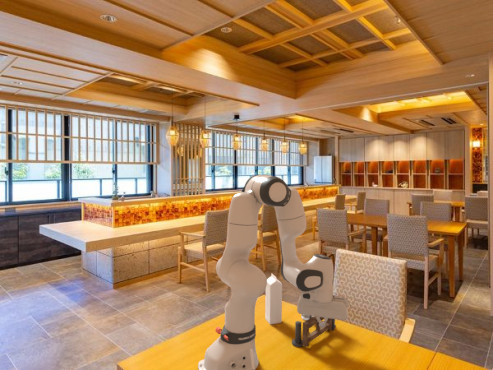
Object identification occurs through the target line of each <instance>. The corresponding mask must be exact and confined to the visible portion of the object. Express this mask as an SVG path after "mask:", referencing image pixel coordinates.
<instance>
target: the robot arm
mask: <svg viewBox="0 0 493 370" xmlns="http://www.w3.org/2000/svg"><path fill="white" fill-rule="evenodd" d="M263 206H268V207H273V209H274V211H275V217H276V222H277V227H278V237H279V246H280V252H281V253H280V254H281V265H280V275H281V277H282V279H283V280H284V281H286V282H287V283H288V284H289V283H290V284H291V285H292V286H294V287H295V288H297V289H298V290H299V291H300V294H299V297H298V298H299V299H298V301H297V305H296V306H297V308H296V311H297V313H298V314H300V315H302V314H305V315H311V316H316V319H317V321H318V323H319V327H325V323H326V322H327V320H328V318H331V319H335V320H338V321H343V322H344V321H347V320H348V317H349V311H348V308H349V305H350V304H349V303H350V302H349V301H350V300H349V299H348V298H346V296H343V295H342V296H341V295H334V284H333V281H334V276H335V275H334V263H333V259H332V258H331V257H329V256H327V255H326V254H325V255H324V254H319V253H315V254H313V256H312V258H310V259H309V260H308V261H307V262H305V263H303V262H302V261H301V260H300V259H299V258H298V256H297V247H296V246H297V245H296V239H297V238H298V237H301V235H303V234H304V232H305V231H306V229H307V216H306V211H305V207H304V204H303V201H302V198H301V196H300V193H299V191H298V189H297V188H294V187H291V186H288V184H287V183H286V182H285V181H284V180H283V179H282V178H280V177H278V176H274V175H270V174H254V175H251V176H250V177H249V178H247V181H246V182H245V184H244V187H243V188H242V189H241V192H237V193H235V194H234V195H233V196H232V198H231V200H230V204H229V208H228V209H229V210H228V216H227V227H226V228H227V231H226V242H225V247H224V250H223V254H222V256H221V257H220V258H219V259H218V260H217V262H216V265H215V272H216V275H217V276H218V278H219V279H220V280H221V282H222V283H224V284H226V285H227V286H228V287H230V290H231V295H230V298H229V300H228V301H227V302H226V304H225V305H224V325H223V327H222V328H221V327H220V326H216V327H215V330H214V331H215V333H217V334H218V335H220V336H219V337H218V338H217V339H216V340H214V341H213V342H212V344H210V346H208V347H207V348H206V351H205V353H204V359H201V360H200V361H198V365H197V369H199V370H256V369H257V368H258V366H259V363H260V362H259V358H258V354H257V349H256V341H255V339H256V336H257V335H256V334H257V333H256V332H257V330H256V328H257V327H256V323H255V315H256V314H255V312H256V305H257V301H258V298H259V297H261V296H262V295H263V293H265V292H266V286H267V279H268V277H267V275H266V274H265V273H264V272H263V271H262V270H261V268H259V267H258V265H257V266H256V265H254V264H252V263H251V262H250V261H249V257H250V253H251V252H252V250H253V249H254V248H255V247H256V246H257V244H258V228H259V212H260V210H261V208H262V207H263ZM320 317H324V319H323V320H322V321H321V320H320Z"/></svg>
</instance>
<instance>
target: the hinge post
mask: <svg viewBox="0 0 493 370" xmlns="http://www.w3.org/2000/svg"><path fill="white" fill-rule="evenodd" d="M336 326H337V325H336V319H332V330H330V331H332V332H333V331H335V329H336Z"/></svg>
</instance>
